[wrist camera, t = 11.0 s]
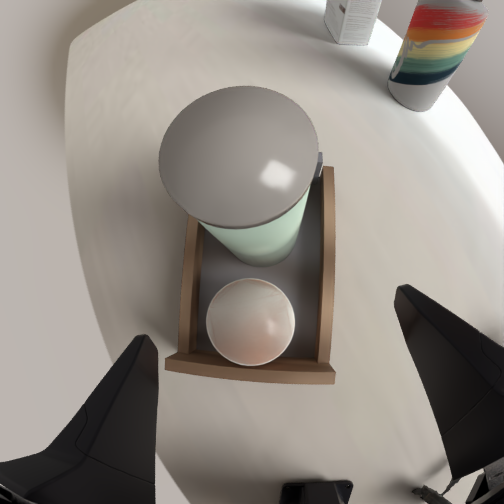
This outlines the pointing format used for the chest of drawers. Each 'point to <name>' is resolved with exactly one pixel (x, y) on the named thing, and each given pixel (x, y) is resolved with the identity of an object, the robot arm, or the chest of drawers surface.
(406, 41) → the lotion bottle
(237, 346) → the jar
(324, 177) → the wooden tray
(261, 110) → the mint green grey canister
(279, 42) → the chest of drawers surface
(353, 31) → the skincare box
